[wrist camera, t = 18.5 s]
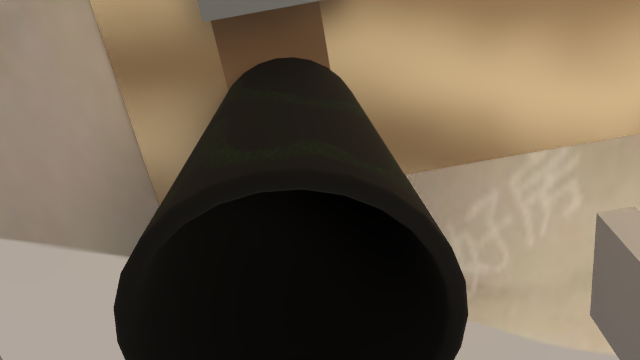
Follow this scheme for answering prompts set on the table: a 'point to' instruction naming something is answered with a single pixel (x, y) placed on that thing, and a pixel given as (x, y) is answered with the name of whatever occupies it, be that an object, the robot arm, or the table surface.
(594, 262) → the robot arm
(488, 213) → the table surface
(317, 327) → the cup
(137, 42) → the panel
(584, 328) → the table surface
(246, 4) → the grey block
